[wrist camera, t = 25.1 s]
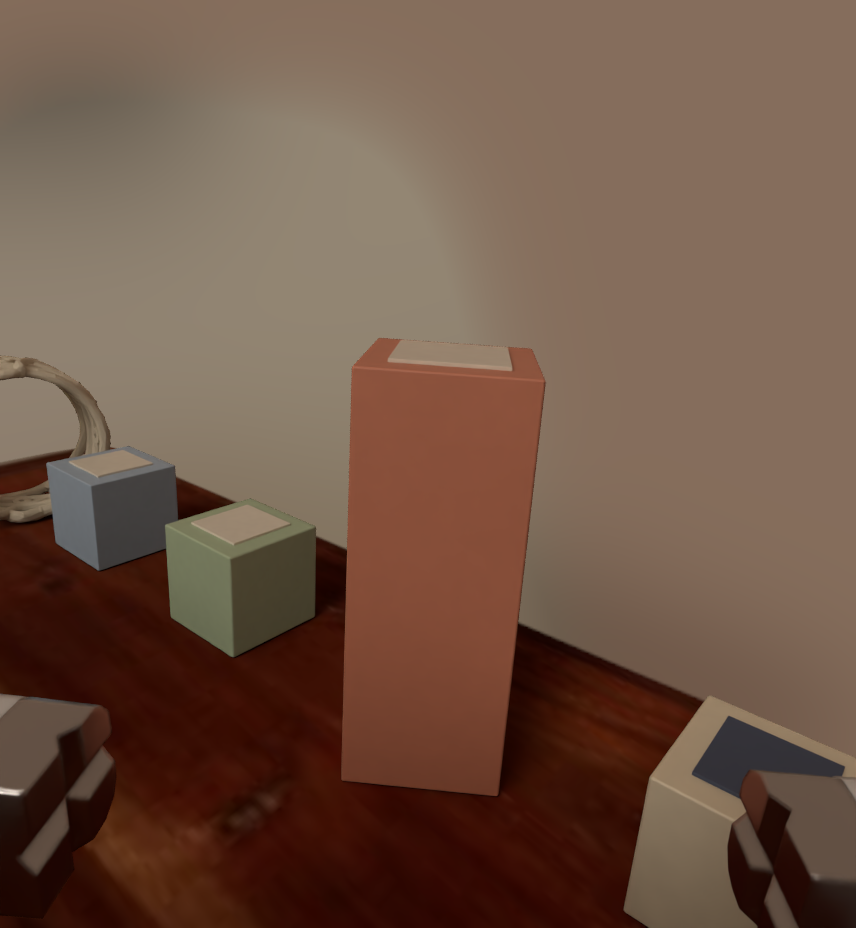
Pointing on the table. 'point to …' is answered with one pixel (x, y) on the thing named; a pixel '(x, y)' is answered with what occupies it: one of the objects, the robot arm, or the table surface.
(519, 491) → the tall block
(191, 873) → the table surface
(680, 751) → the block
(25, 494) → the bracelet
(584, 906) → the table surface
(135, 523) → the block
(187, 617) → the block
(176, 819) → the table surface
